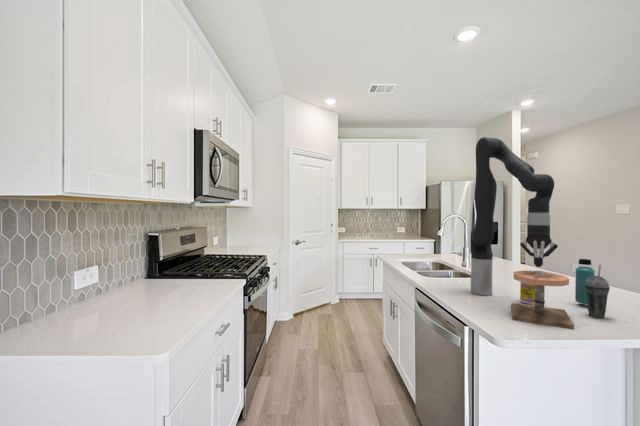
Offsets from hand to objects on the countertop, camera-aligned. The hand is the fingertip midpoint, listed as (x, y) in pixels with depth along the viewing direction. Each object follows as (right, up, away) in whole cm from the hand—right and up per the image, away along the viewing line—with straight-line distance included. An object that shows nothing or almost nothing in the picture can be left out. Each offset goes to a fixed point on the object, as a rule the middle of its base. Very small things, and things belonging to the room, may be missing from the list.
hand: (538, 266), depth 125 cm
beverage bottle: (+25, -18, +7) cm, 31 cm away
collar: (-4, -4, -6) cm, 8 cm away
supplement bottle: (+4, -18, +12) cm, 22 cm away
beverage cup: (+18, -18, -6) cm, 27 cm away
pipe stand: (-4, -18, -6) cm, 19 cm away
